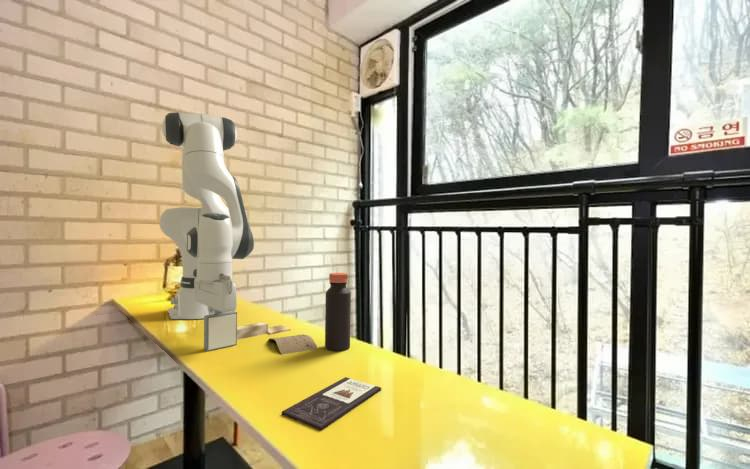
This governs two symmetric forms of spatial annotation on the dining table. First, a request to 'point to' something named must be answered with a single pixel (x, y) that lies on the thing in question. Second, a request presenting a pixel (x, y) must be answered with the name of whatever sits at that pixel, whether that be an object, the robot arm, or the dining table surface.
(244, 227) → the robot arm
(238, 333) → the stepped wooden block
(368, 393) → the chocolate bar
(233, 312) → the grey framed square panel
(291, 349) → the curved brown bark piece
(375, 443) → the dining table surface
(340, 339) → the bottle
